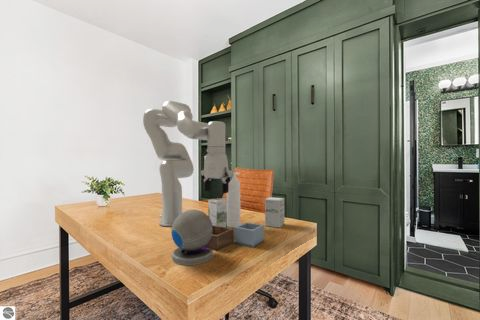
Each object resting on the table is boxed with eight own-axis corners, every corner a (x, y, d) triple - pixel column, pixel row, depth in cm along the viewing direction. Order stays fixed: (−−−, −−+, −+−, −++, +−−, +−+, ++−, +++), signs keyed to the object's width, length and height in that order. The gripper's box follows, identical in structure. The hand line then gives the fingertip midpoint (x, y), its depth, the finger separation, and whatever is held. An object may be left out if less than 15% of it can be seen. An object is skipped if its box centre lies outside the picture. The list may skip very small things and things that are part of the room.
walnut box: (196, 245, 85) (195, 231, 85) (213, 237, 94) (213, 225, 94) (217, 250, 80) (216, 236, 80) (233, 242, 88) (233, 228, 88)
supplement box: (264, 226, 109) (264, 199, 109) (270, 222, 115) (270, 196, 115) (279, 228, 105) (279, 200, 105) (285, 224, 112) (284, 197, 112)
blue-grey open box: (234, 243, 87) (234, 227, 87) (246, 237, 93) (246, 222, 93) (253, 247, 82) (253, 230, 82) (264, 241, 89) (263, 225, 89)
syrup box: (218, 230, 103) (218, 197, 103) (227, 233, 99) (227, 199, 99) (208, 233, 99) (207, 199, 99) (217, 236, 95) (216, 200, 95)
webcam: (220, 255, 76) (220, 209, 76) (186, 269, 66) (185, 216, 66) (197, 246, 85) (196, 204, 85) (164, 256, 75) (163, 210, 76)
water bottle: (236, 228, 106) (235, 173, 106) (224, 226, 109) (223, 173, 109) (245, 223, 113) (244, 172, 113) (233, 222, 116) (233, 172, 116)
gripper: (195, 151, 100) (195, 191, 100) (227, 150, 90) (226, 195, 90) (207, 151, 106) (207, 189, 106) (238, 151, 96) (238, 192, 96)
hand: (216, 191), depth 98 cm, fingers open, 9 cm apart
